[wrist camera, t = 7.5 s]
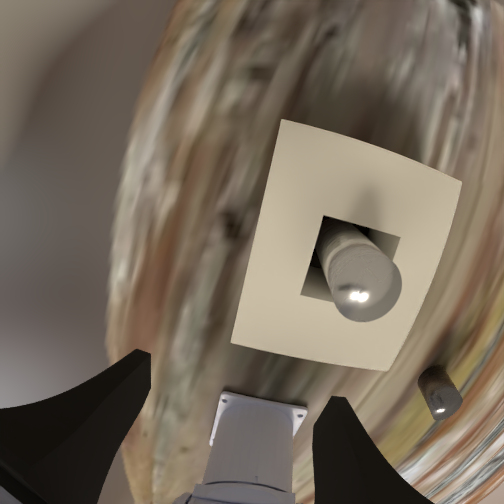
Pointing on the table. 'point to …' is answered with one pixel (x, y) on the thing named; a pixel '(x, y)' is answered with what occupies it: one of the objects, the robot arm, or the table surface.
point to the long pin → (357, 272)
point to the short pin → (439, 392)
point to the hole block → (305, 235)
